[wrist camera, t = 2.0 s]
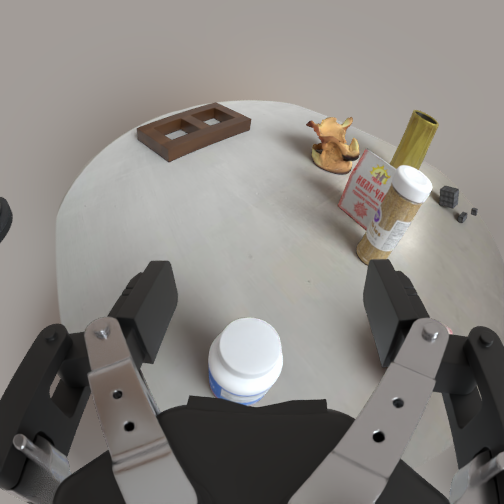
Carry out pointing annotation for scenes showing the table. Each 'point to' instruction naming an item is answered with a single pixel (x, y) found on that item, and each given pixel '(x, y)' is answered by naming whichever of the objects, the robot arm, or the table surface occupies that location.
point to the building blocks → (453, 201)
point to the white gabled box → (366, 188)
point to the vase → (415, 140)
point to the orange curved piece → (334, 146)
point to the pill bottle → (245, 361)
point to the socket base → (192, 130)
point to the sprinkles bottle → (394, 213)
